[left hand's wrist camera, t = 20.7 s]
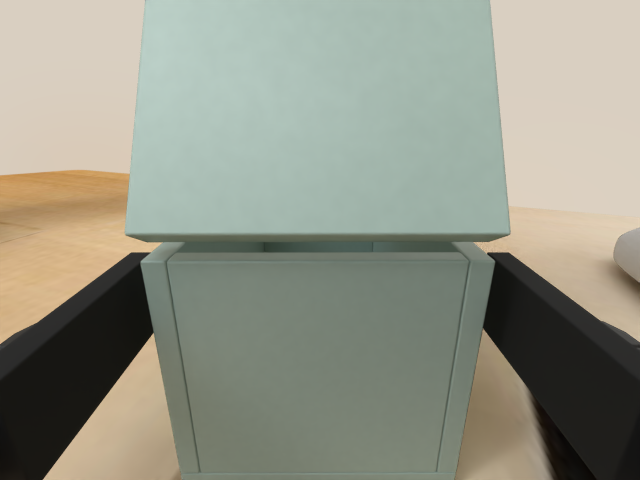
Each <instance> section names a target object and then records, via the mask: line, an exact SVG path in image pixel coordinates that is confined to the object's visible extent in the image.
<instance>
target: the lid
mask: <svg viewBox="0 0 640 480" xmlns="http://www.w3.org/2000/svg"><path fill="white" fill-rule="evenodd" d="M510 232H511V231H510V220H509V209H508V198H507V187H506V175H505V165H504V153H503V142H502V131H501V119H500V108H499V97H498V86H497V75H496V63H495V52H494V41H493V30H492V19H491V7H490V0H145V8H144V20H143V31H142V42H141V54H140V65H139V77H138V88H137V99H136V110H135V122H134V133H133V145H132V156H131V167H130V178H129V190H128V201H127V212H126V224H125V235H126V236H129V237H132V238H135V239H138V240H142V241H145V242H490V241H493V240H496V239H499V238H502V237H505V236H508V235H510Z"/></svg>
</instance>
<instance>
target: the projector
mask: <svg viewBox="0 0 640 480" xmlns="http://www.w3.org/2000/svg"><path fill="white" fill-rule="evenodd" d="M613 258H614V260H615V262H616V263H617V264H618V265H619V266H620V267H621V268H622V269H623V270H624V271H625V272H626V273H628V274H629V275H630V276H631V277H633V278H634V279H635V280H636V281H638V282H639V283H640V228H637V229H634V230H631V231H629V232H627V233H625V234H623V235H621V236H620V237H619V238H618V240H617V242H616V245H615V248H614V254H613Z"/></svg>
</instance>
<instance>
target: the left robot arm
mask: <svg viewBox="0 0 640 480" xmlns="http://www.w3.org/2000/svg"><path fill="white" fill-rule="evenodd" d="M149 254H150V253H130V254H129V255H127V256H126V257H125V258H123V259H122V260H121V261H119V262H118V263H117V264H115V265H114V266H113V267H111V268H110V269H109V270H107V271H106V272H105V273H103V274H102V275H101V276H99V277H98V278H97V279H95V280H94V281H92V282H91V283H90V284H88V285H87V286H86V287H84V288H83V289H82V290H80V291H79V292H78V293H76V294H75V295H74V296H72V297H71V298H70V299H68V300H67V301H66V302H64V303H63V304H62V305H60V306H59V307H58V308H56V309H55V310H54V311H52V312H51V313H50V314H48V315H47V316H46V317H44V318H43V319H42V320H40V321H39V322H38V323H36V324H33V325H31V326H29V327H27V328H25V329H23V330H21V331H19V332H17V333H15V334H14V335H12V336H11V337H9V338H8V339H7V340H5V341H4V342H3V343H1V344H0V480H43V479H44V477H45V476H46V475H47V473H48V472H49V471H50V469H51V468H52V467H53V465H54V464H55V463H56V461H57V460H58V459H59V457H60V456H61V455H62V453H63V452H64V451H65V449H66V448H67V447H68V445H69V444H70V443H71V441H72V440H73V439H74V437H75V436H76V435H77V433H78V432H79V431H80V430H81V428H82V427H83V426H84V424H85V423H86V422H87V420H88V419H89V418H90V416H91V415H92V414H93V412H94V411H95V410H96V408H97V407H98V406H99V404H100V403H101V402H102V400H103V399H104V398H105V396H106V395H107V394H108V392H109V391H110V390H111V388H112V387H113V386H114V384H115V383H116V382H117V380H118V379H119V378H120V376H121V375H122V374H123V372H124V371H125V370H126V368H127V367H128V366H129V365H130V363H131V362H132V361H133V359H134V358H135V357H136V355H137V354H138V353H139V351H140V350H141V349H142V347H143V346H144V345H145V343H146V342H147V341H148V339H149V338H150V337H151V335H152V334H153V333H154V331H153V326H152V321H151V315H150V310H149V305H148V300H147V294H146V289H145V284H144V278H143V273H142V268H141V261H142V260H143V259H144V258H145V257H146V256H148V255H149ZM487 255H488V256H490V257H491V258H492V259H493V260H494V261H495V265H494V270H493V276H492V281H491V287H490V292H489V297H488V303H487V308H486V314H485V319H484V324H483V329H484V330H485V331H486V333H487V334H488V335H489V337H490V338H491V339H492V341H493V342H494V343H495V345H496V346H497V347H498V349H499V350H500V351H501V353H502V354H503V355H504V357H505V358H506V359H507V361H508V362H509V363H510V365H511V366H512V367H513V368H514V370H515V371H516V372H517V374H518V375H519V376H520V378H521V379H522V380H523V382H524V383H525V384H526V386H527V387H528V388H529V390H530V391H531V392H532V394H533V395H534V396H535V398H536V399H537V400H538V402H539V403H540V404H541V406H542V407H543V408H544V410H545V411H546V412H547V414H548V415H549V416H550V418H551V419H552V420H553V422H554V423H555V424H556V426H557V427H558V428H559V430H560V431H561V432H562V434H563V435H564V436H565V437H566V439H567V440H568V441H569V443H570V444H571V445H572V447H573V448H574V449H575V451H576V452H577V453H578V455H579V456H580V457H581V459H582V460H583V461H584V463H585V464H586V465H587V467H588V468H589V469H590V471H591V472H592V473H593V475H594V476H595V477H596V479H597V480H640V342H638V341H637V340H636V339H634V338H633V337H632V336H630V335H629V334H627V333H626V332H624V331H622V330H620V329H618V328H616V327H614V326H612V325H610V324H608V323H605V322H603V321H600V320H598V319H597V318H596V317H594V316H593V315H592V314H590V313H589V312H588V311H586V310H585V309H584V308H582V307H581V306H580V305H578V304H577V303H576V302H574V301H573V300H572V299H570V298H569V297H568V296H566V295H565V294H564V293H562V292H561V291H560V290H558V289H557V288H556V287H554V286H553V285H552V284H550V283H549V282H548V281H546V280H545V279H543V278H542V277H541V276H539V275H538V274H537V273H535V272H534V271H533V270H531V269H530V268H529V267H527V266H526V265H525V264H523V263H522V262H521V261H519V260H518V259H517V258H515V257H514V256H513V255H511V254H510V253H487Z"/></svg>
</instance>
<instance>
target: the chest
mask: <svg viewBox="0 0 640 480" xmlns="http://www.w3.org/2000/svg"><path fill="white" fill-rule="evenodd" d="M494 265H495V261H494V260H493V259H492V258H491V257H490V256H488V255H487V254H486V253H485V252H484V251H483V250H481V249H480V248H479V247H478V246H477V245H475V244H474V243H473V242H163V243H162V244H161V245H160V246H158V247H157V248H156V249H155V250H154V251H152V252H151V253H150V254H149V255H148V256H146V257H145V258H144V259H143V260H142V261H141V268H142V273H143V278H144V284H145V289H146V294H147V300H148V305H149V310H150V315H151V321H152V326H153V331H154V336H155V342H156V347H157V352H158V357H159V363H160V368H161V373H162V378H163V384H164V389H165V394H166V399H167V405H168V410H169V415H170V420H171V426H172V431H173V436H174V441H175V447H176V452H177V457H178V462H179V468H180V472H181V478H182V480H455V475H456V470H457V464H458V459H459V454H460V448H461V443H462V437H463V432H464V427H465V421H466V416H467V410H468V405H469V400H470V394H471V389H472V384H473V378H474V373H475V367H476V362H477V357H478V351H479V346H480V340H481V335H482V330H483V324H484V319H485V314H486V308H487V303H488V297H489V292H490V287H491V281H492V276H493V270H494Z"/></svg>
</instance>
